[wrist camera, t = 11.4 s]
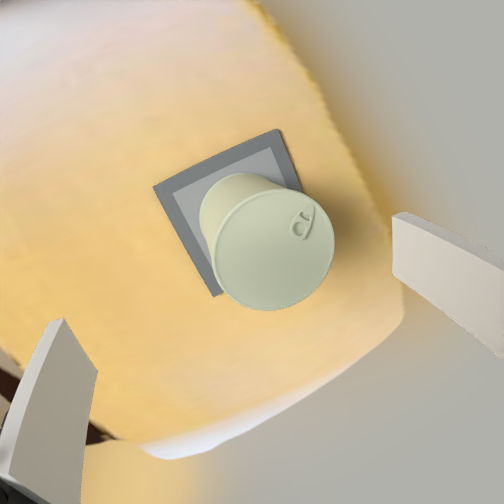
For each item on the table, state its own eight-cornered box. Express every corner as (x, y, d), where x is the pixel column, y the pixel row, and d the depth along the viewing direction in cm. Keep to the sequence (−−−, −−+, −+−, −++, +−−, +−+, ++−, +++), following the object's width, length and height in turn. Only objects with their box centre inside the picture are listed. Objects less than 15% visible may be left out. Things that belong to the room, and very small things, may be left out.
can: (300, 202, 32) (360, 233, 21) (254, 271, 34) (291, 331, 23) (230, 155, 29) (262, 161, 18) (182, 232, 30) (186, 283, 19)
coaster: (153, 186, 28) (152, 187, 28) (275, 128, 29) (277, 128, 29) (212, 294, 34) (213, 297, 34) (318, 240, 35) (320, 242, 34)
